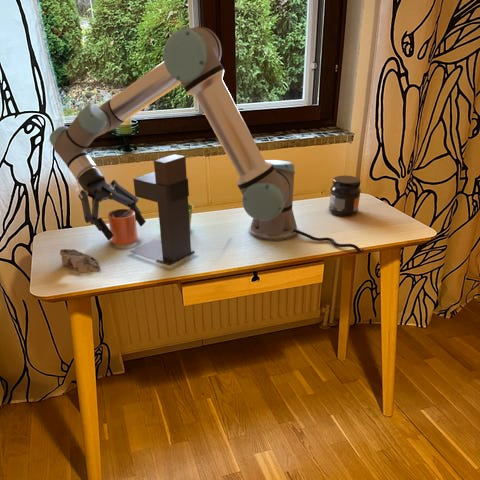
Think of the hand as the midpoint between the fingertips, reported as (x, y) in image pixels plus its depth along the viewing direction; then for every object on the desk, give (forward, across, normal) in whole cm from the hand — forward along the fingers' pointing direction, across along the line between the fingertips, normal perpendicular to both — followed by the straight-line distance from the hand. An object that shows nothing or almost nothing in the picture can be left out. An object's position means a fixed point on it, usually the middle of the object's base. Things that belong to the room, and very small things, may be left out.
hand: (127, 230), depth 156 cm
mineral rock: (+4, +20, -3) cm, 20 cm away
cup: (+2, 0, -5) cm, 5 cm away
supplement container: (+33, -66, +26) cm, 78 cm away
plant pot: (+8, -17, +1) cm, 19 cm away
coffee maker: (+13, 0, +7) cm, 15 cm away
